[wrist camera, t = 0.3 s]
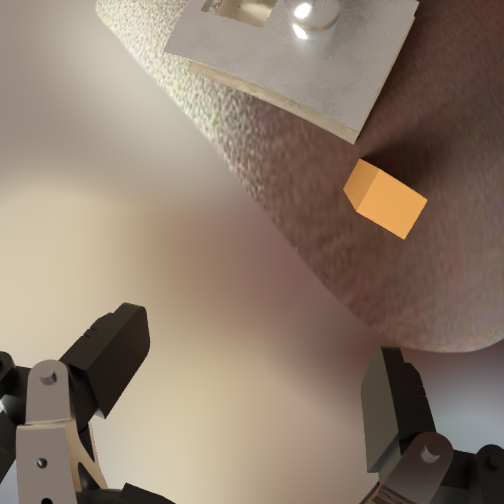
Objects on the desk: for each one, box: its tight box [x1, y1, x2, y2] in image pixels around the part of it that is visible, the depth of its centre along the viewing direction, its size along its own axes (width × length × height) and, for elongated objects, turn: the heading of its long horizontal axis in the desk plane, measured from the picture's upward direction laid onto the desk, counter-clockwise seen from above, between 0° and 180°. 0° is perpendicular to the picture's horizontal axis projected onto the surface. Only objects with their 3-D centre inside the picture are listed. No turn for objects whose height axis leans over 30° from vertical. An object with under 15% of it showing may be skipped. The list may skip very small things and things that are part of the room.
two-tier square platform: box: [163, 0, 419, 144], centre depth 22 cm, size 18×21×12 cm
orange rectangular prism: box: [343, 159, 427, 239], centre depth 28 cm, size 4×5×10 cm
